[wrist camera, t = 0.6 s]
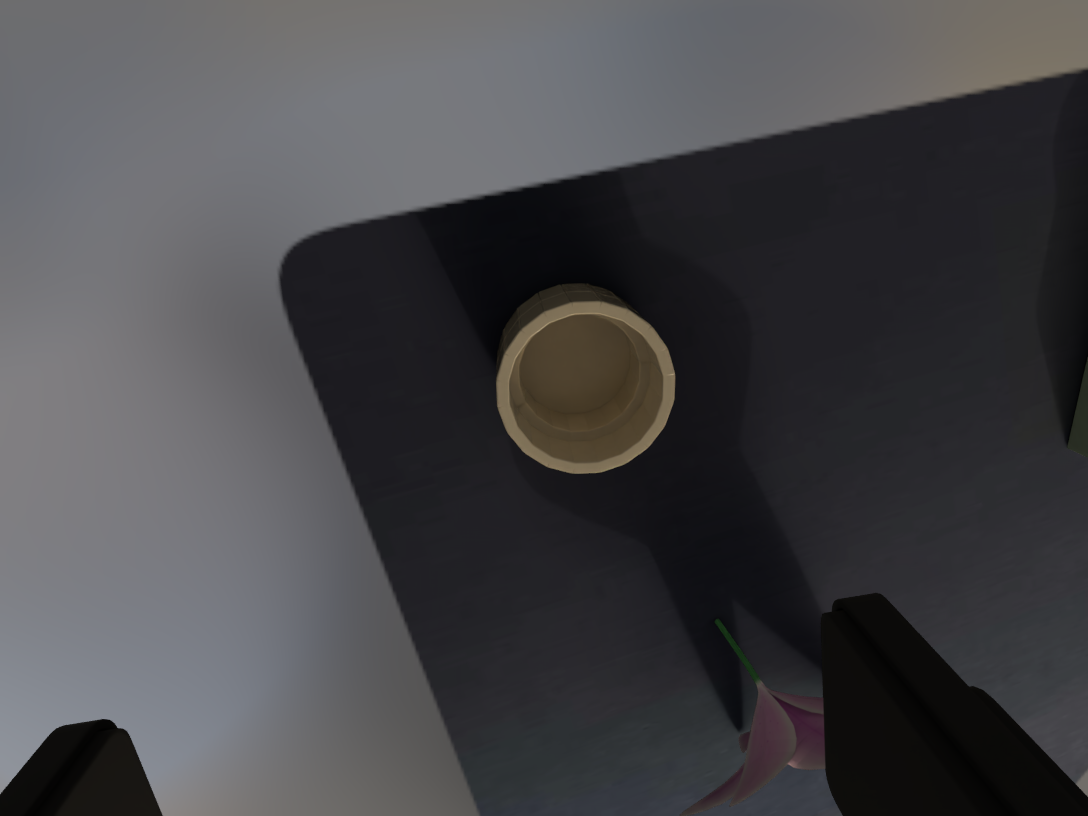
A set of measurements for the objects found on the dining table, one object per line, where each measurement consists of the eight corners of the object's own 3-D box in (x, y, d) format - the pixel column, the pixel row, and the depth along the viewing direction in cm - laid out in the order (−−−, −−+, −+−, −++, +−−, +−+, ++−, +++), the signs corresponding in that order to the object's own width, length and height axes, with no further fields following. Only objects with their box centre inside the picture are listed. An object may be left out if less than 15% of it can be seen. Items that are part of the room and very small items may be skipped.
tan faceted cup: (494, 283, 31) (492, 303, 26) (649, 279, 32) (678, 299, 26) (500, 431, 33) (499, 477, 28) (645, 426, 34) (671, 470, 29)
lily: (621, 727, 40) (718, 907, 34) (626, 613, 33) (754, 817, 26) (790, 644, 44) (909, 793, 37) (831, 523, 36) (991, 683, 29)
